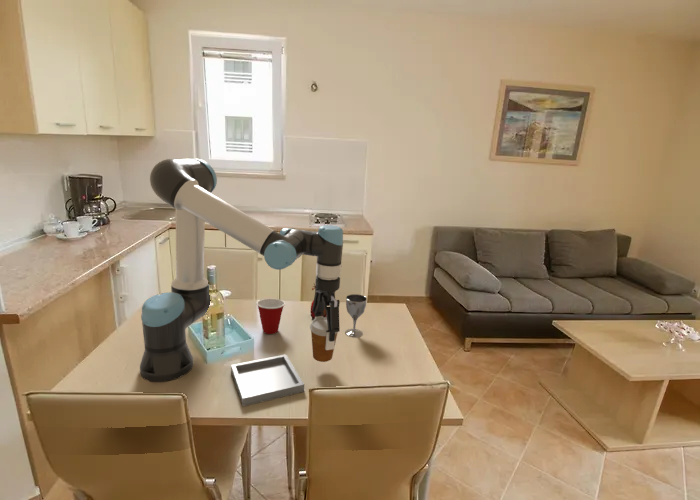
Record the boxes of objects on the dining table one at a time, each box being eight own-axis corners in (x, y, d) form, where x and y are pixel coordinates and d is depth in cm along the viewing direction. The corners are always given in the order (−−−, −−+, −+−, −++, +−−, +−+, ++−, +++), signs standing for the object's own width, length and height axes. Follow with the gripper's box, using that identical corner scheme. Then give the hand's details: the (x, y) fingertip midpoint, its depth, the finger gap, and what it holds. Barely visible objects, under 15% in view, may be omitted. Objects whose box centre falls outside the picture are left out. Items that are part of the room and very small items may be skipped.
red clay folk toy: (320, 322, 159) (322, 288, 155) (306, 318, 162) (307, 285, 158) (329, 316, 166) (331, 283, 162) (315, 312, 169) (317, 280, 165)
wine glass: (341, 335, 149) (343, 300, 145) (346, 327, 157) (349, 292, 153) (361, 339, 148) (364, 303, 144) (365, 330, 155) (368, 295, 151)
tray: (242, 406, 106) (242, 398, 106) (231, 371, 122) (230, 364, 121) (304, 391, 114) (304, 384, 114) (285, 360, 130) (286, 354, 129)
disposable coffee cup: (304, 350, 128) (306, 318, 125) (332, 347, 131) (334, 315, 128) (312, 366, 119) (314, 331, 116) (341, 362, 123) (344, 328, 120)
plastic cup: (287, 325, 155) (288, 298, 152) (280, 338, 144) (280, 309, 141) (261, 323, 156) (261, 295, 152) (252, 335, 145) (252, 306, 142)
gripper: (355, 287, 110) (349, 356, 116) (325, 264, 129) (321, 325, 135) (331, 289, 107) (326, 361, 113) (304, 265, 126) (301, 328, 132)
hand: (323, 341), depth 124 cm, fingers closed on disposable coffee cup, 9 cm apart
